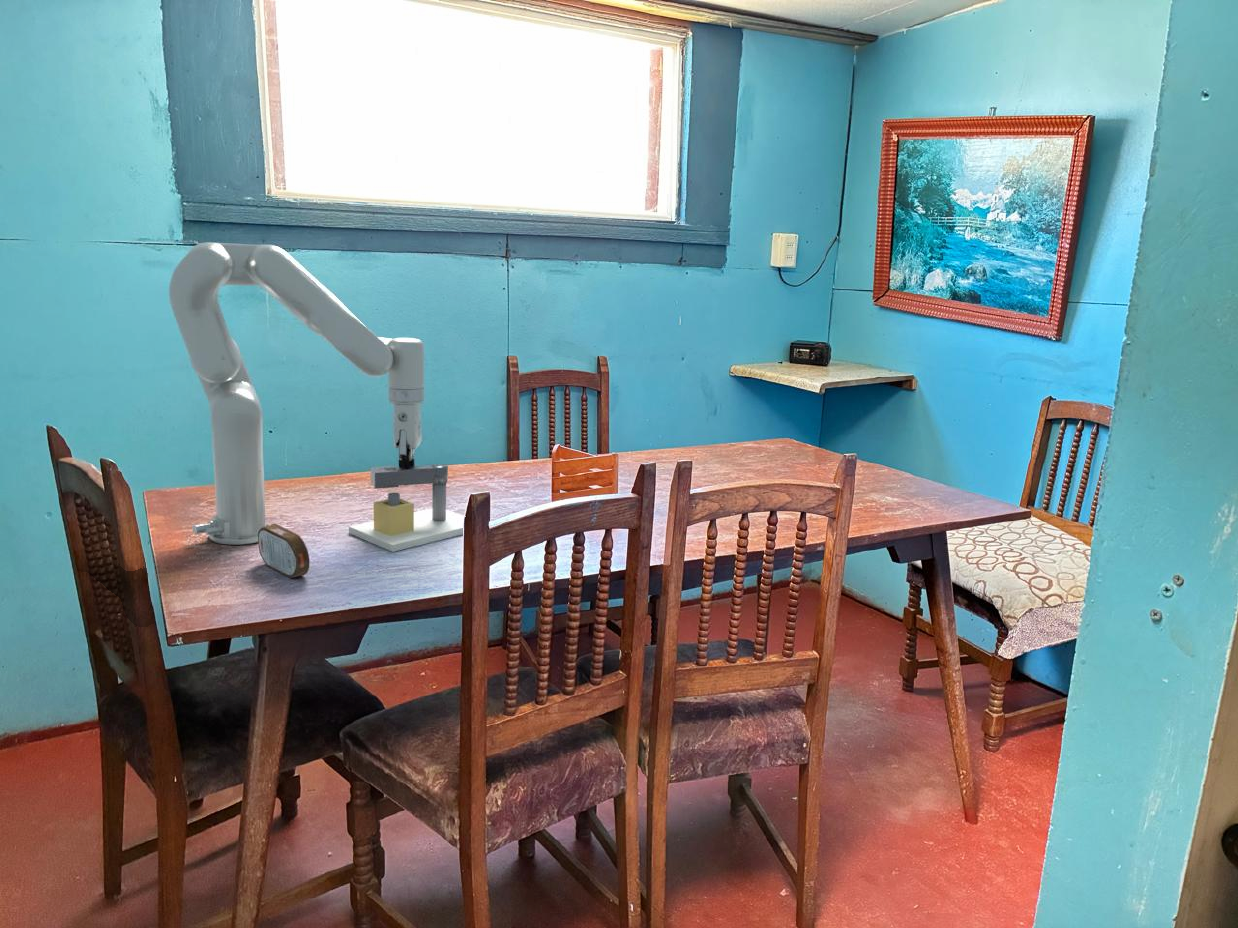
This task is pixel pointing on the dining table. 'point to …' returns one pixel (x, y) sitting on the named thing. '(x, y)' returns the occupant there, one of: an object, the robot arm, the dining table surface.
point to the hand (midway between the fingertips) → (406, 476)
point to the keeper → (408, 475)
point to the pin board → (416, 524)
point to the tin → (283, 551)
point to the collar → (393, 517)
